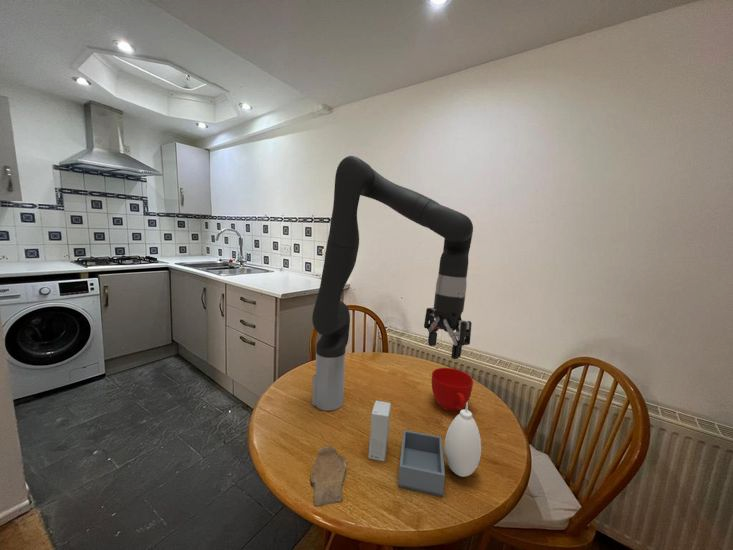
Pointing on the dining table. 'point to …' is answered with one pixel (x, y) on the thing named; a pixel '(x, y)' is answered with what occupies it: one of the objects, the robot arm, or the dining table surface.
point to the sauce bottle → (463, 444)
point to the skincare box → (379, 430)
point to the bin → (422, 463)
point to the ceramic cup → (451, 388)
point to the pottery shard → (328, 477)
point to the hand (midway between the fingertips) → (443, 351)
